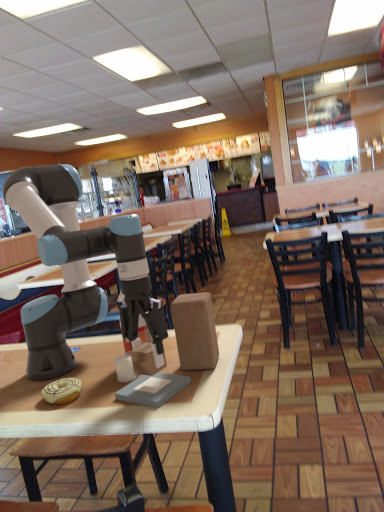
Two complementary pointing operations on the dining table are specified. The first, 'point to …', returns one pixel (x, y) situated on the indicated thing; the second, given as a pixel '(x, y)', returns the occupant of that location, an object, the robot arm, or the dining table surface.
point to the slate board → (153, 389)
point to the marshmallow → (124, 368)
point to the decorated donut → (62, 391)
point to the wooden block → (195, 331)
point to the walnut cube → (145, 360)
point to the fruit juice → (142, 330)
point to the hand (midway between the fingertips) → (149, 364)
